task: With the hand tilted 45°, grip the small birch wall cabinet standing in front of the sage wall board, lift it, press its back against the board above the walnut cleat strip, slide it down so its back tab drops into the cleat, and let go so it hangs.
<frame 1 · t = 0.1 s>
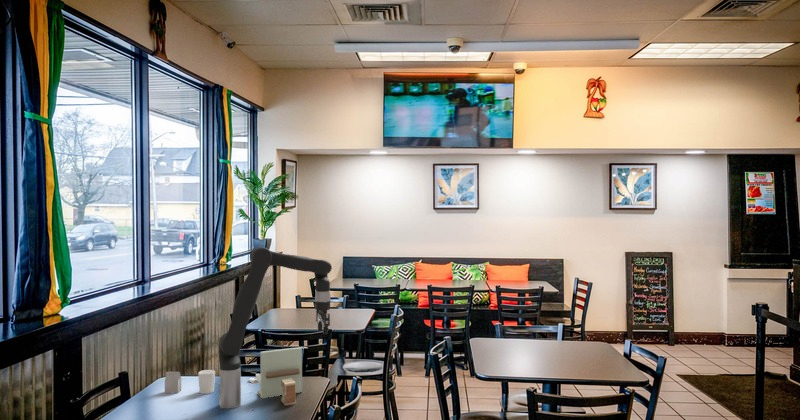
hand: (322, 332, 280), 29 cm above the table, tool pointing down, fingers open, 8 cm apart
wall cabinet: (289, 403, 262), on the table
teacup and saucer: (257, 381, 300), on the table
wall board: (282, 395, 273), on the table
grey brown rectangular block: (173, 392, 280), on the table
white cup: (206, 392, 279), on the table
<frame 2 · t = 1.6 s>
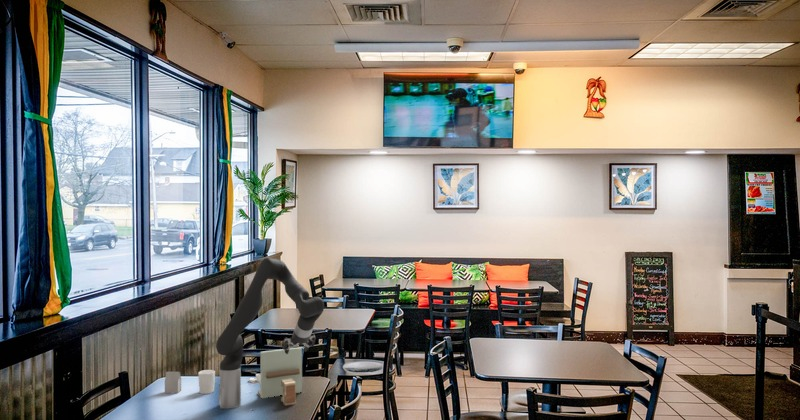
hand: (295, 351, 253), 27 cm above the table, tool tilted 45°, fingers open, 8 cm apart
nothing on the table moved.
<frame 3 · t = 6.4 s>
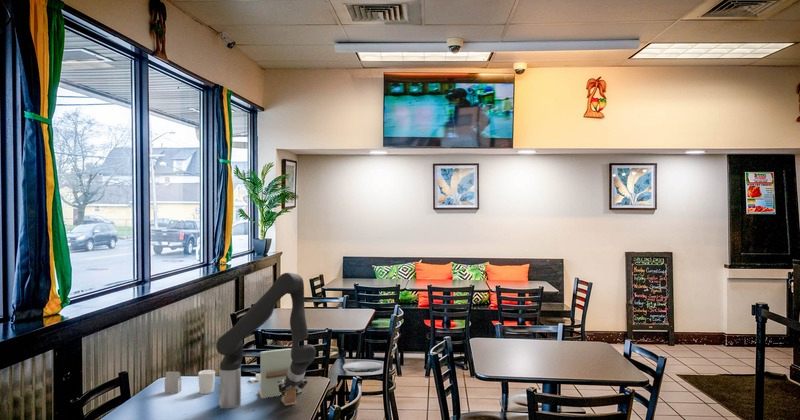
hand: (288, 392, 262), 5 cm above the table, tool tilted 45°, fingers closed on wall cabinet, 5 cm apart
wall cabinet: (289, 403, 262), on the table, touching gripper
everything else where it was.
when the fingers open (9 cm above the table, at t = 11.0 s): wall cabinet stays where it is, resting on wall board.
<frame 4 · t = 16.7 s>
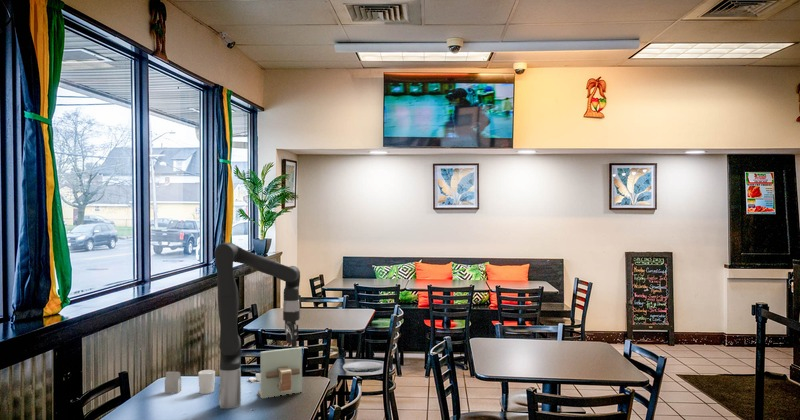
hand: (291, 344, 258), 28 cm above the table, tool pointing down, fingers open, 8 cm apart
wall cabinet: (285, 390, 268), point 4 cm above the table, touching wall board
at the end: wall cabinet 0.0 cm from the target spot, point 3.8 cm above the table; wall cabinet touching wall board; wall cabinet tilted 2° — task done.
